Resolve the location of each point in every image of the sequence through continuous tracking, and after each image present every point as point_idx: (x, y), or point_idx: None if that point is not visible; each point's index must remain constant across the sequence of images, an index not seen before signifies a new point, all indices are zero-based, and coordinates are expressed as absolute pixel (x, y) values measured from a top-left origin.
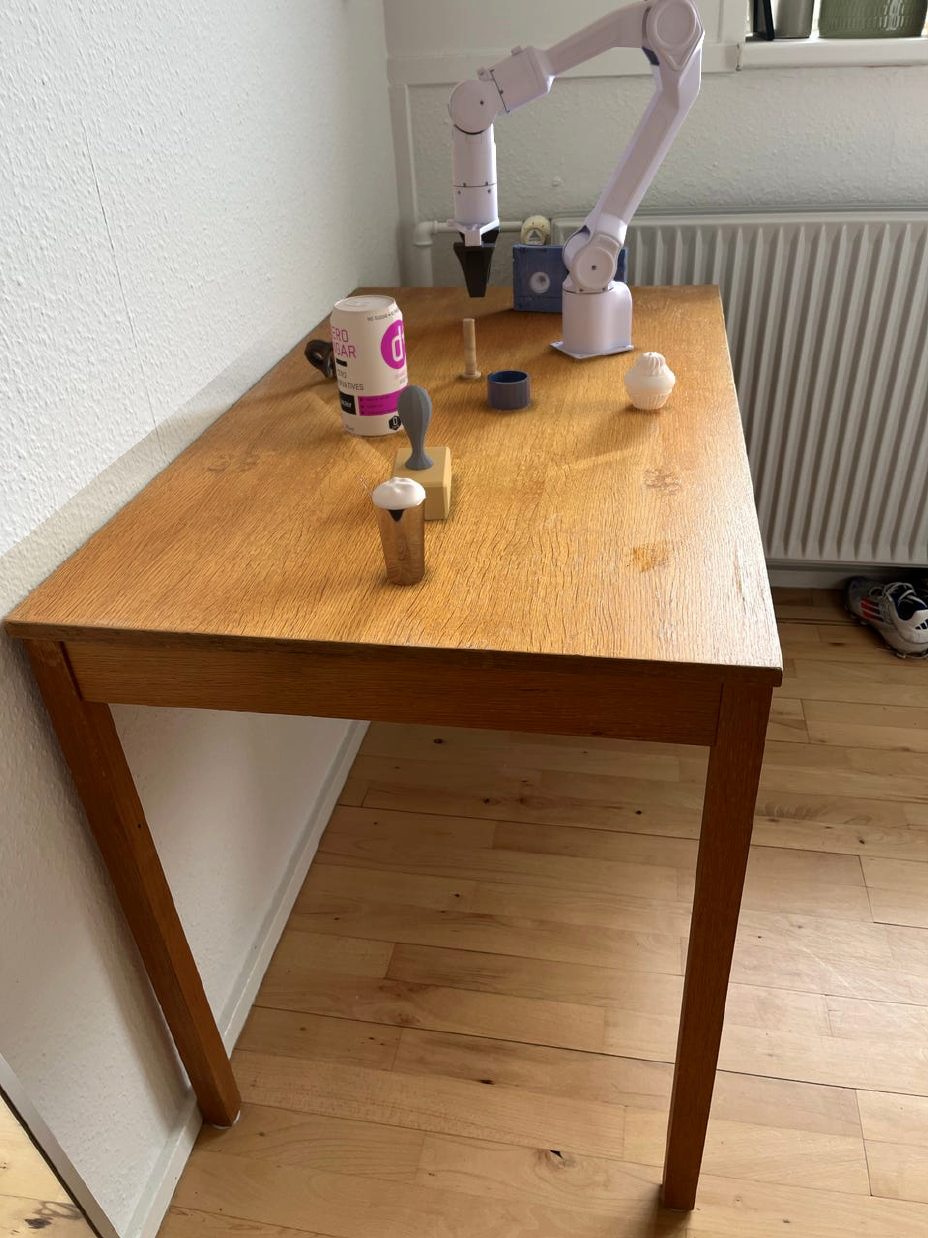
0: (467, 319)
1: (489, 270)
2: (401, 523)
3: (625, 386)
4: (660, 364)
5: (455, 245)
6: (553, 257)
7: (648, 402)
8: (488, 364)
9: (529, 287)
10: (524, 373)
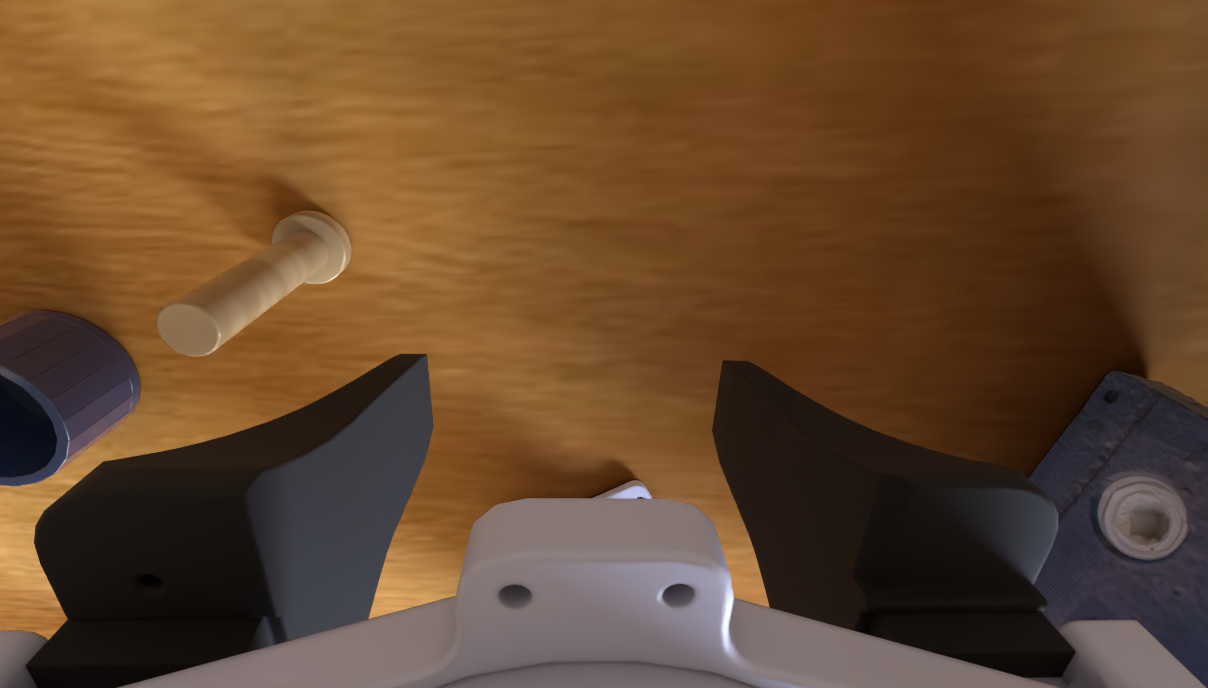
0: (192, 324)
1: (728, 481)
2: None
3: None
4: None
5: (66, 517)
6: (1192, 637)
7: None
8: (483, 297)
9: (1147, 467)
10: (38, 469)
